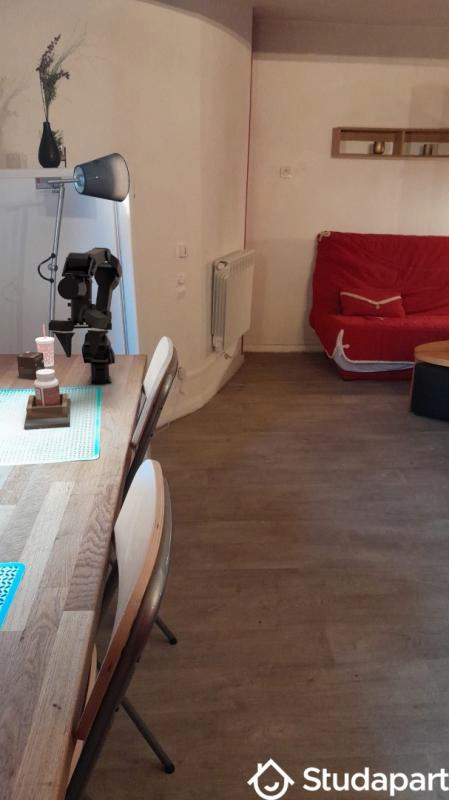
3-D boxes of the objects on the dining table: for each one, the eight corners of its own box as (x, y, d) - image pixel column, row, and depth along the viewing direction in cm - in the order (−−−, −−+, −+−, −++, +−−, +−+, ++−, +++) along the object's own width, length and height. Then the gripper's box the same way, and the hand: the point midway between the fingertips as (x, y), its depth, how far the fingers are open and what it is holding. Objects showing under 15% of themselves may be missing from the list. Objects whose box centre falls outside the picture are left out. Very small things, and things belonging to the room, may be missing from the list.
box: (35, 380, 176) (33, 357, 173) (18, 378, 177) (16, 356, 174) (45, 374, 181) (43, 352, 179) (28, 372, 182) (26, 350, 180)
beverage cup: (39, 362, 193) (35, 322, 188) (57, 362, 194) (54, 322, 189) (35, 367, 188) (32, 326, 183) (54, 367, 188) (51, 326, 183)
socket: (29, 403, 156) (28, 390, 155) (70, 401, 159) (69, 388, 158) (24, 429, 140) (22, 414, 139) (69, 426, 143) (68, 412, 141)
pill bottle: (64, 407, 152) (61, 368, 148) (56, 415, 146) (53, 375, 143) (41, 406, 152) (38, 367, 149) (33, 414, 147) (29, 374, 143)
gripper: (76, 300, 142) (76, 361, 145) (126, 301, 158) (125, 356, 161) (46, 298, 148) (47, 357, 151) (97, 299, 164) (97, 353, 167)
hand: (81, 356), depth 157 cm, fingers open, 9 cm apart
